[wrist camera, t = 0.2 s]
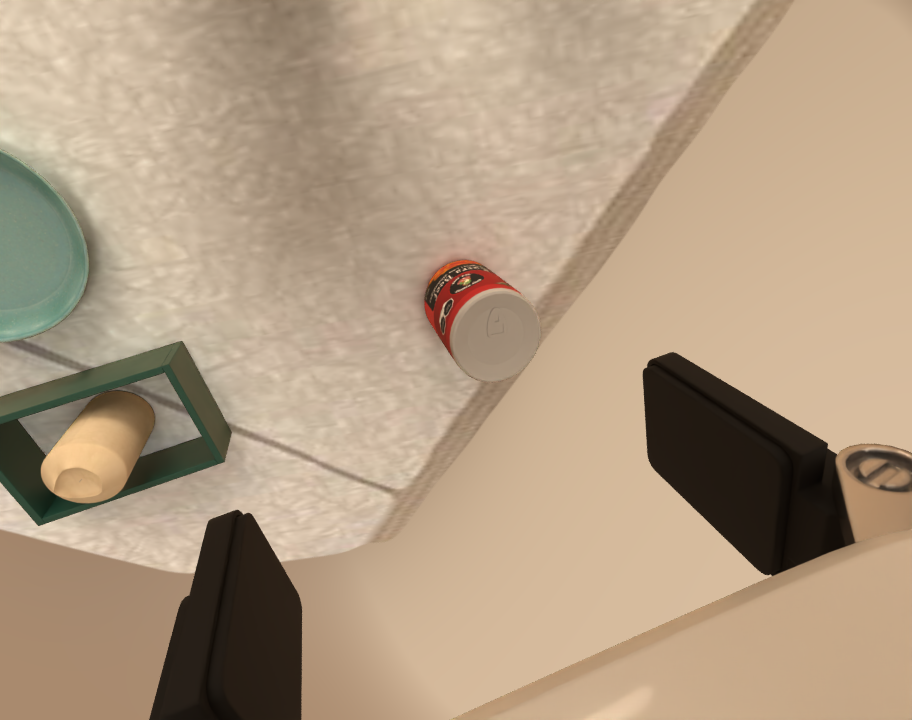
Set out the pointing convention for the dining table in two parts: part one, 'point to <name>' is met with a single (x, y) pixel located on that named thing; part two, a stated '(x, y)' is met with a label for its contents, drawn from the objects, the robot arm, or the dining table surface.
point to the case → (19, 458)
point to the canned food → (482, 321)
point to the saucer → (36, 253)
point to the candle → (99, 448)
